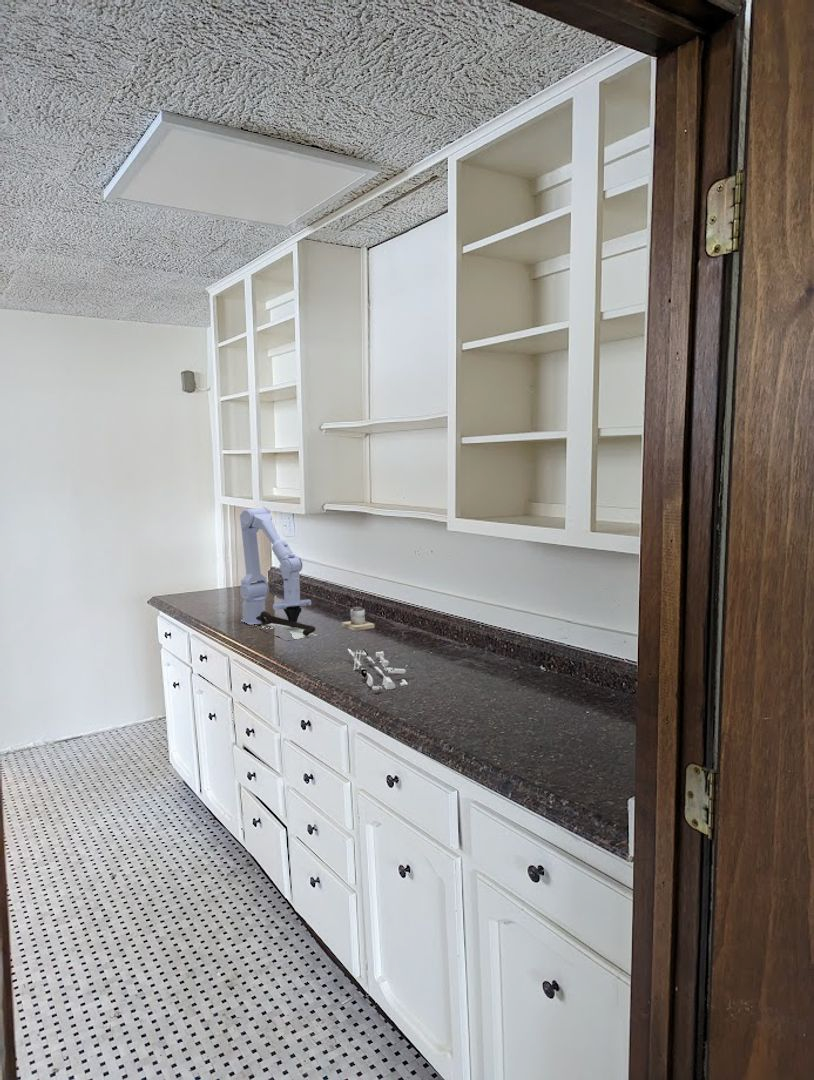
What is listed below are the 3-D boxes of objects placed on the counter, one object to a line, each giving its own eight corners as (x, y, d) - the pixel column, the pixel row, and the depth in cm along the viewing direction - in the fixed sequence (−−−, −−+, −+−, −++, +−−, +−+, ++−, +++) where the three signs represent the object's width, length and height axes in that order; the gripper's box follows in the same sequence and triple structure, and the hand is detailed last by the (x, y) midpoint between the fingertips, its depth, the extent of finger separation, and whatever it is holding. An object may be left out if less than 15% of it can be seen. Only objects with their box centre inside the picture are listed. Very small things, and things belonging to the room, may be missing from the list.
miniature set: (342, 657, 217) (379, 660, 221) (371, 700, 185) (415, 701, 189) (345, 637, 217) (383, 640, 221) (375, 676, 184) (418, 678, 188)
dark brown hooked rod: (307, 642, 246) (251, 627, 264) (317, 635, 250) (261, 621, 268) (305, 628, 244) (248, 614, 263) (315, 622, 248) (258, 609, 266)
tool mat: (252, 626, 264) (252, 626, 264) (281, 622, 271) (281, 621, 271) (287, 641, 242) (287, 640, 241) (317, 635, 249) (317, 635, 249)
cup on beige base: (341, 626, 262) (341, 607, 262) (359, 623, 267) (359, 604, 266) (356, 631, 254) (355, 611, 254) (374, 628, 259) (374, 608, 258)
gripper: (278, 594, 249) (279, 631, 251) (314, 589, 258) (315, 625, 259) (269, 591, 255) (271, 628, 256) (305, 586, 264) (306, 622, 265)
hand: (293, 626), depth 258 cm, fingers closed
